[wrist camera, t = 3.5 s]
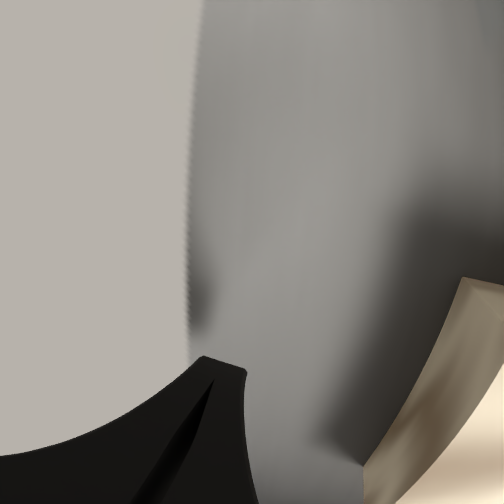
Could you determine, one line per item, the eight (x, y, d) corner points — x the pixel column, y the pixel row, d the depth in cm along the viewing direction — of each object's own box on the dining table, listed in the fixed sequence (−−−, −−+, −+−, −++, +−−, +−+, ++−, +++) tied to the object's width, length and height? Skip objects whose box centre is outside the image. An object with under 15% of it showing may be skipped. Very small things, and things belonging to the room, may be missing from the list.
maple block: (486, 458, 11) (502, 511, 7) (362, 461, 12) (363, 530, 8) (584, 302, 8) (632, 348, 4) (458, 272, 9) (516, 339, 5)
